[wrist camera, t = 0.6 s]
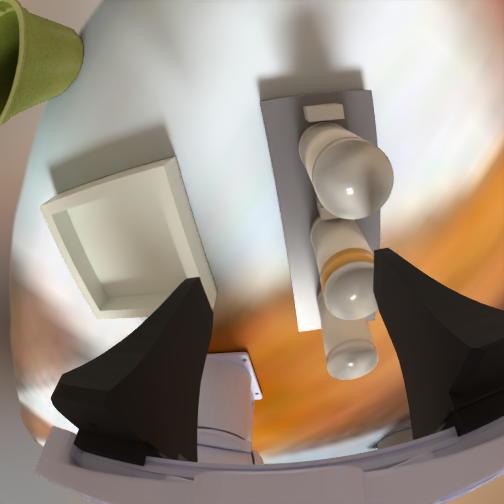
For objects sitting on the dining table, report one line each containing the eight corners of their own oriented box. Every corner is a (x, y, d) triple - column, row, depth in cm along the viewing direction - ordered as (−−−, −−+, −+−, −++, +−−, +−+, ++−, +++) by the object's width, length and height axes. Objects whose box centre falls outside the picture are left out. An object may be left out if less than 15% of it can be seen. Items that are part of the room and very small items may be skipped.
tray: (217, 291, 25) (212, 311, 23) (107, 301, 27) (97, 319, 25) (175, 156, 19) (163, 165, 17) (56, 194, 21) (39, 206, 19)
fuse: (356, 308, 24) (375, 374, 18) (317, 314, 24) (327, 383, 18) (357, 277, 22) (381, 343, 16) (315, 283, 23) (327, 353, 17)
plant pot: (113, 0, 13) (39, -26, 5) (96, 115, 18) (16, 141, 10) (27, 22, 12) (-45, 22, 5) (18, 119, 17) (-54, 147, 10)
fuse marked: (357, 249, 21) (386, 314, 15) (311, 256, 21) (325, 324, 15) (356, 205, 19) (391, 262, 13) (306, 212, 20) (322, 272, 14)
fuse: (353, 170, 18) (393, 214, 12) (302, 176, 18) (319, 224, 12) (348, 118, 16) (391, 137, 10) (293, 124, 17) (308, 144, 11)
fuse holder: (370, 309, 26) (380, 335, 23) (297, 320, 27) (300, 348, 24) (363, 89, 16) (382, 90, 13) (260, 101, 17) (258, 102, 14)
